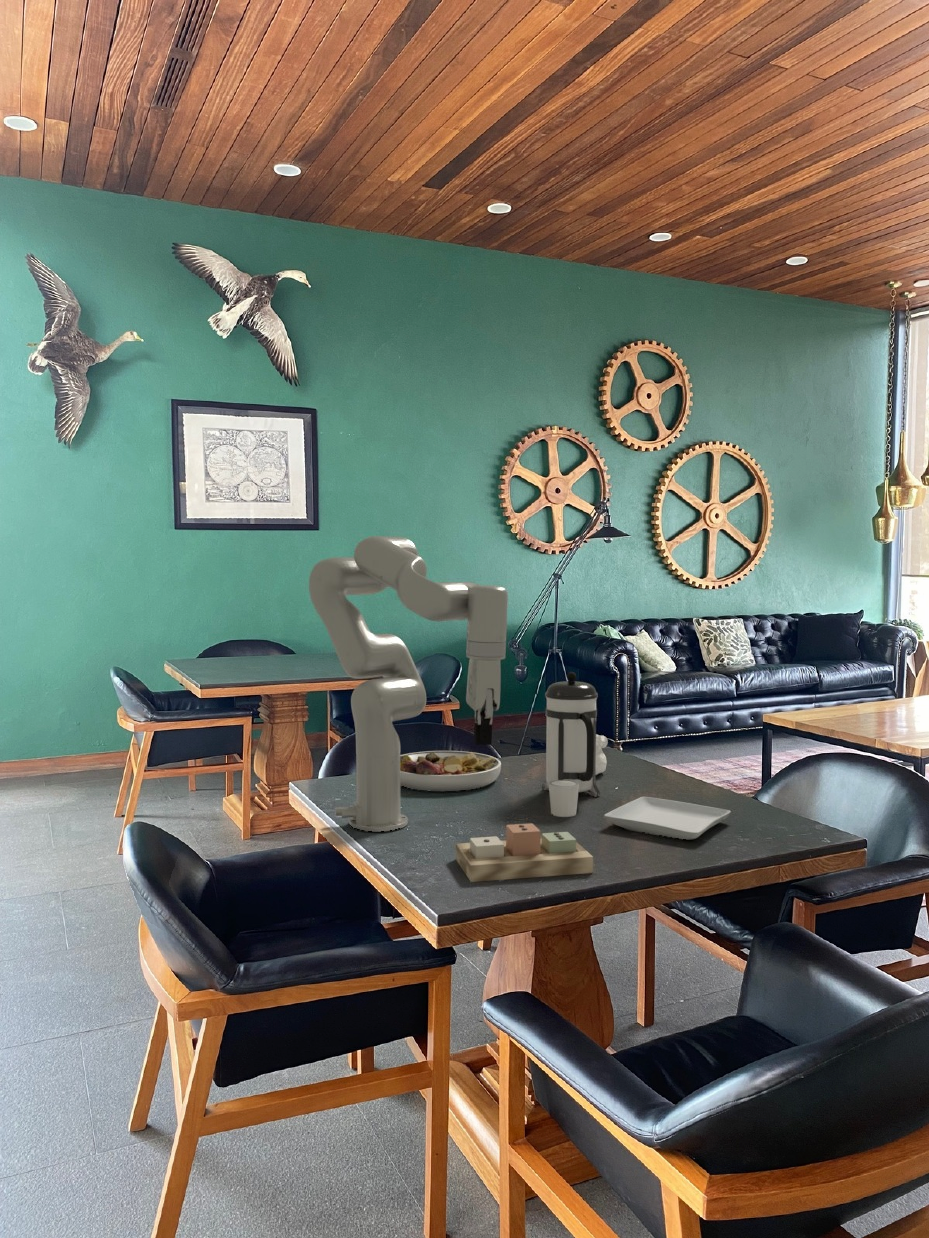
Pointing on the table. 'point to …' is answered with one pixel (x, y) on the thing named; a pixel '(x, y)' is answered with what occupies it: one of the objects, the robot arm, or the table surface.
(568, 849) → the green dice block
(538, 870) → the wooden dice block tray
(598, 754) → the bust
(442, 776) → the bowl
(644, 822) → the salad plate
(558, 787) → the shot glass
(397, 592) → the robot arm
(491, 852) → the white dice block
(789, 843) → the table surface
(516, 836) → the tan dice block
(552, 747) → the coffee press
